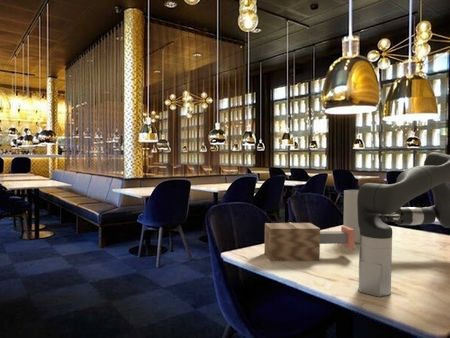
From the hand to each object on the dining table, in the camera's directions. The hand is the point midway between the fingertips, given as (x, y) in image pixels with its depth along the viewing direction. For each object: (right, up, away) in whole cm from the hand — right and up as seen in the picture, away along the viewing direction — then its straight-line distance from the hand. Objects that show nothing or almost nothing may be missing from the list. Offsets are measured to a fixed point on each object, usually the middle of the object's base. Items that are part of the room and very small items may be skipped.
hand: (369, 216), depth 145 cm
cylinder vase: (+5, -16, +27) cm, 32 cm away
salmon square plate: (-18, -12, -1) cm, 22 cm away
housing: (-33, -16, -2) cm, 37 cm away
